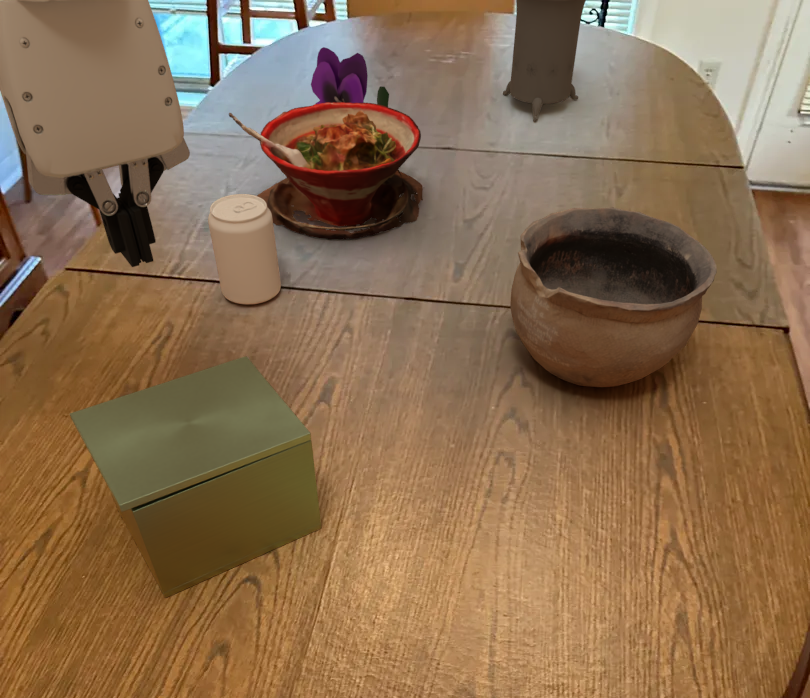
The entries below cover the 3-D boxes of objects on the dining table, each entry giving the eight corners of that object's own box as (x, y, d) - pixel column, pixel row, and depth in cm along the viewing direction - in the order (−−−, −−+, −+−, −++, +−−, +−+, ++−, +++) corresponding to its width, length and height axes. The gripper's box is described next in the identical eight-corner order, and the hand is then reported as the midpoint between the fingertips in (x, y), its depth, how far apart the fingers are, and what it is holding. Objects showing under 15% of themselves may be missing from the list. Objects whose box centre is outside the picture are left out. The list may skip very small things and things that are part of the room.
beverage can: (210, 290, 108) (193, 205, 99) (259, 270, 112) (247, 186, 103) (243, 315, 104) (229, 229, 95) (293, 293, 108) (283, 208, 99)
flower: (344, 146, 151) (291, 128, 141) (369, 61, 145) (315, 36, 135) (394, 171, 144) (342, 154, 134) (423, 82, 137) (371, 58, 127)
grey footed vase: (574, 125, 146) (599, -38, 127) (495, 119, 148) (508, -42, 129) (579, 88, 158) (602, -66, 139) (505, 83, 160) (519, -70, 141)
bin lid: (121, 512, 64) (119, 505, 63) (71, 420, 71) (69, 413, 71) (311, 439, 70) (310, 433, 70) (247, 362, 78) (246, 355, 77)
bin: (165, 598, 73) (132, 512, 64) (117, 509, 81) (82, 420, 72) (321, 528, 79) (311, 440, 70) (263, 451, 87) (247, 362, 78)
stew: (238, 252, 115) (219, 138, 103) (253, 179, 131) (238, 72, 119) (429, 249, 116) (432, 136, 104) (421, 177, 131) (423, 70, 119)
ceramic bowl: (474, 331, 102) (483, 220, 91) (619, 299, 107) (645, 189, 96) (556, 437, 88) (578, 322, 77) (717, 394, 94) (761, 280, 82)
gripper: (156, -78, 49) (210, 210, 63) (-102, -45, 43) (19, 262, 57) (203, -51, 45) (250, 251, 58) (-76, -11, 39) (48, 310, 53)
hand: (136, 255), depth 58 cm, fingers closed
